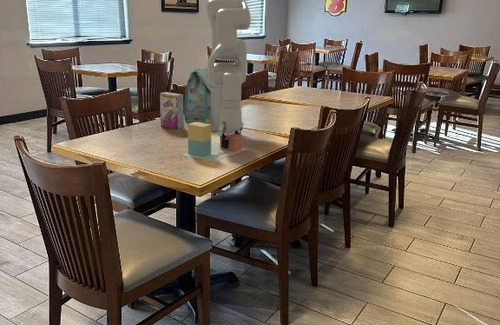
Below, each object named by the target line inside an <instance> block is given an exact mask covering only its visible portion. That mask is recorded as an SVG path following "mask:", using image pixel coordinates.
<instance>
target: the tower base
mask: <svg viewBox="0 0 500 325" xmlns="http://www.w3.org/2000/svg"><path fill="white" fill-rule="evenodd" d="M211 144H212V131H211V124H209V123H200V122H196V121H193V122H189V123H188V124H187V151H188V152H187V153H188V154H192V155H196V156H201V157H205V156H208V155H210V154H211Z"/></svg>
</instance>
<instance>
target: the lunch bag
mask: <svg viewBox="0 0 500 325" xmlns="http://www.w3.org/2000/svg"><path fill="white" fill-rule="evenodd" d="M185 87H186V88H185V97H184V103H183V110H184V122H187V123H188V122H189V123H193V122H200V123H205V120H206V119H211V89H210V85H209V83H208V67H203V68H202V67H201V68H196V69H194V70H193V71H192V72H190V75H189V77H188V80H187V83H186V86H185Z"/></svg>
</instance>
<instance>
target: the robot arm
mask: <svg viewBox="0 0 500 325" xmlns="http://www.w3.org/2000/svg"><path fill="white" fill-rule="evenodd" d="M206 13H207V18H208V21H209V23H210V27H211V53H210V55H209V57H208V60H207V65H206V66H207V67H206V68H208V83H209V85H210V89H211V119H206V120H205V123H206V124H211V132H213V133H214V132H215V133H218V135H219V139H220V138H221V148H224V149H228V148H229V139H228V136H229V133H233V134H238V135H242V131H243V127H244V122H243V118H242V84H243V83H245V82H246V79H247V61H248V60H247V56H248V53H247V50H248V49H247V43H246V41H245V40H243V39H241V38H238V31H237V30H244V31H245V30H248V29H249V28H250V27H251V23H252V22H251V20H252V19H251V18H252V17H251V13H250V9H249V5H248V4H247V1H246V0H207V2H206ZM216 60H220V61H226V60H227V61H235V62H216ZM225 133H226V136H225Z"/></svg>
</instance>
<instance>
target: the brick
mask: <svg viewBox="0 0 500 325" xmlns="http://www.w3.org/2000/svg"><path fill="white" fill-rule="evenodd" d="M225 136H226V133H225ZM228 139H229V148H228V149H224V148H221V138H220V137H219V144H220V149H222V150H227V151H232V152H237V151H239V150H241V149H242V148H243V135H242V134H241V135H238V134H235V133H234V132H232V133H229V136H228Z"/></svg>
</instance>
